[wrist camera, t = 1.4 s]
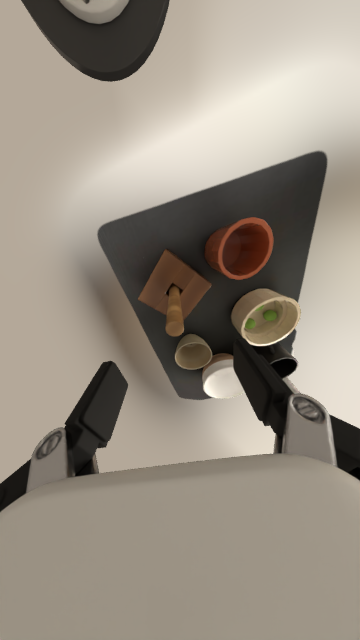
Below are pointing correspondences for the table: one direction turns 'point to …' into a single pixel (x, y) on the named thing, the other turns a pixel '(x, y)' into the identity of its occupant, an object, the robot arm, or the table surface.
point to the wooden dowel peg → (174, 312)
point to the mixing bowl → (263, 329)
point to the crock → (240, 248)
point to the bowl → (221, 378)
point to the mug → (278, 358)
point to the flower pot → (192, 352)
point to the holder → (178, 274)
